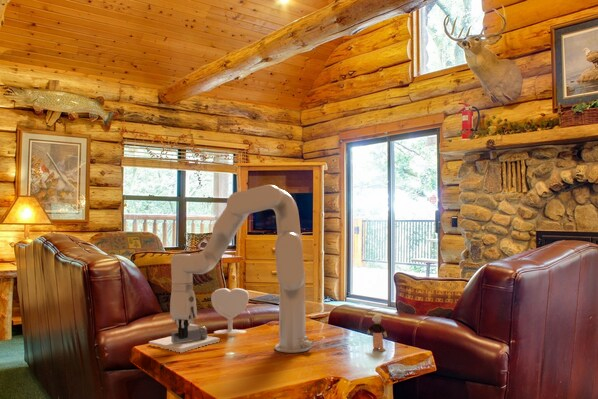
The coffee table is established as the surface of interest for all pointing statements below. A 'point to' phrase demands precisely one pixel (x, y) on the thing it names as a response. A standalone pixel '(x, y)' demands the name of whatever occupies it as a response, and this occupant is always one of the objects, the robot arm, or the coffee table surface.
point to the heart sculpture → (229, 305)
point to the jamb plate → (186, 344)
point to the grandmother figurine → (377, 333)
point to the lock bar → (190, 335)
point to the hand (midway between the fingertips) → (183, 338)
